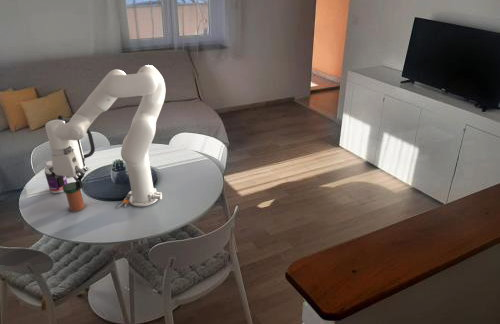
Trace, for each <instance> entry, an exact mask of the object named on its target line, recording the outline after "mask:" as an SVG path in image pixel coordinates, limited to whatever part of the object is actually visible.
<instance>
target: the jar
mask: <svg viewBox="0 0 500 324" xmlns="http://www.w3.org/2000/svg"><path fill="white" fill-rule="evenodd" d="M65 197H66V199H67V204H68V208H69V211H71V212H79V211H81V210H83V209H85V202H84V198H83V194H82V189H80V190H79V191H77V192H75V193H71V194H67V193H65Z"/></svg>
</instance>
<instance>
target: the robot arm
mask: <svg viewBox="0 0 500 324" xmlns="http://www.w3.org/2000/svg"><path fill="white" fill-rule="evenodd" d="M166 91H167V90H166V82H165V79H164V77H163V75H162V74H161V72H160V71H159V70H158V69H157V68H156V67H154V66H153V65H149V64H148V65H143V66H141V67H140V68H139V69H138V71H137V72H136V73H129V74H126V72H124V71H123V70H121V69H117V68H115V69H112V70H110V71H109V72H108V73H107V74H105V76H104V77H103V78H102V80H101V81H100V82H99V83H98V85H97V86H96V87H95V88H94V89H93V90H92V92H91V93H90V94H89V95H88V96H87V99H85V101H84V102H83V104H81V106H80V107H79V108H78V109H77V111H76V112H75V113H74V114H73V115H72V117H71V118H70V121H69V122H68V123H65V122H64V121H63V120H57V119H52V120H50V121H48V122H46V123H45V124H44V125H45V126H44V127H45V131H46V135H47V136H46V137H47V139H48V142H49V147H50V150H51V154H50V155H51V157H50V158H51V160H52V167H51V168H49V171H50V172H51V173H52V175H53V176H54V177H55V179H57V183H58V187H59V188H61V187H62V186H63V185H65V184H64V180H63V176H67V177H66V178H72V179H74V180H75V181H74V182H75V184H76V188H77V190H82V188H83V187H84V185H83V181H82V180H83V179H84V177H85V175H86V171H85V170H83V169H80V165H79V162H78V159H77V157H76V155H75V153H74V152H73V151H74V149H72V148H71V144H70V140H80V141H81V140H83V139H84V138H85V136H86V134H87V133H86V132H87V130H89V127H90V126H91V125H92V124H93V122H94V121H95V120H96V119H97V118H98V117H99V116H100V115H101V114H102V113H104V112H107V111H108V110H109V109H110V108H111V107H112V106H113V104H114V103H115V102H116V101H117V99H119V98H120V99H122V98H132V97H141V96H142V97H141V99H140V102H139V104H138V107H137V110H136V112H135V114H134V116H133V118H132V120H131V124H130V128H129V130H128V133H127V134H126V135H125V136H124V137H123V141H122V144H121V149H120V157H121V160H122V161H123V162H124V163H125V164H126V170H127V176H128V180H129V185H130V191H132V196H131V197H130V199H128V200H129V204H130V205H131V206H134V207H137V208H138V207H139V208H141V207H148V206H152V205H154V203H156V202H157V201H158V200H160V201H161V200H162V199H163V193H162V192H158V191H157V188H155V187H154V182H153V177H152V170H151V164H150V163H151V162H150V157H149V149H150V147H151V145H152V143H153V140H154V138H155V136H156V132H157V131H156V129H157V128H156V127H157V121H158V118H159V115H160V113H161V111H162V108H163V105H164V103H165V99H166Z"/></svg>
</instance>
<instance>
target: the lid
mask: <svg viewBox="0 0 500 324" xmlns="http://www.w3.org/2000/svg"><path fill="white" fill-rule="evenodd" d="M75 182H76V181H72V182H67V183H68V184H66V185H64V186H63V191H64V192H63V193H64V194H66V193H67V194H71V193H75V192H77V191H79V190H77V188H76V184H75Z"/></svg>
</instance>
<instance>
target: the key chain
mask: <svg viewBox="0 0 500 324" xmlns="http://www.w3.org/2000/svg"><path fill="white" fill-rule="evenodd" d="M131 196H132V191H131V190H130V191H128V193H126V195H125V198H124V199H123V201H122V203H121V204H119V205H118V206H117V207H116V208H120V207H121V206H122V205H124V206H123V207H124V208H126V207H127V205H128V204H130V201H129V199H130V197H131Z"/></svg>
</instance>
